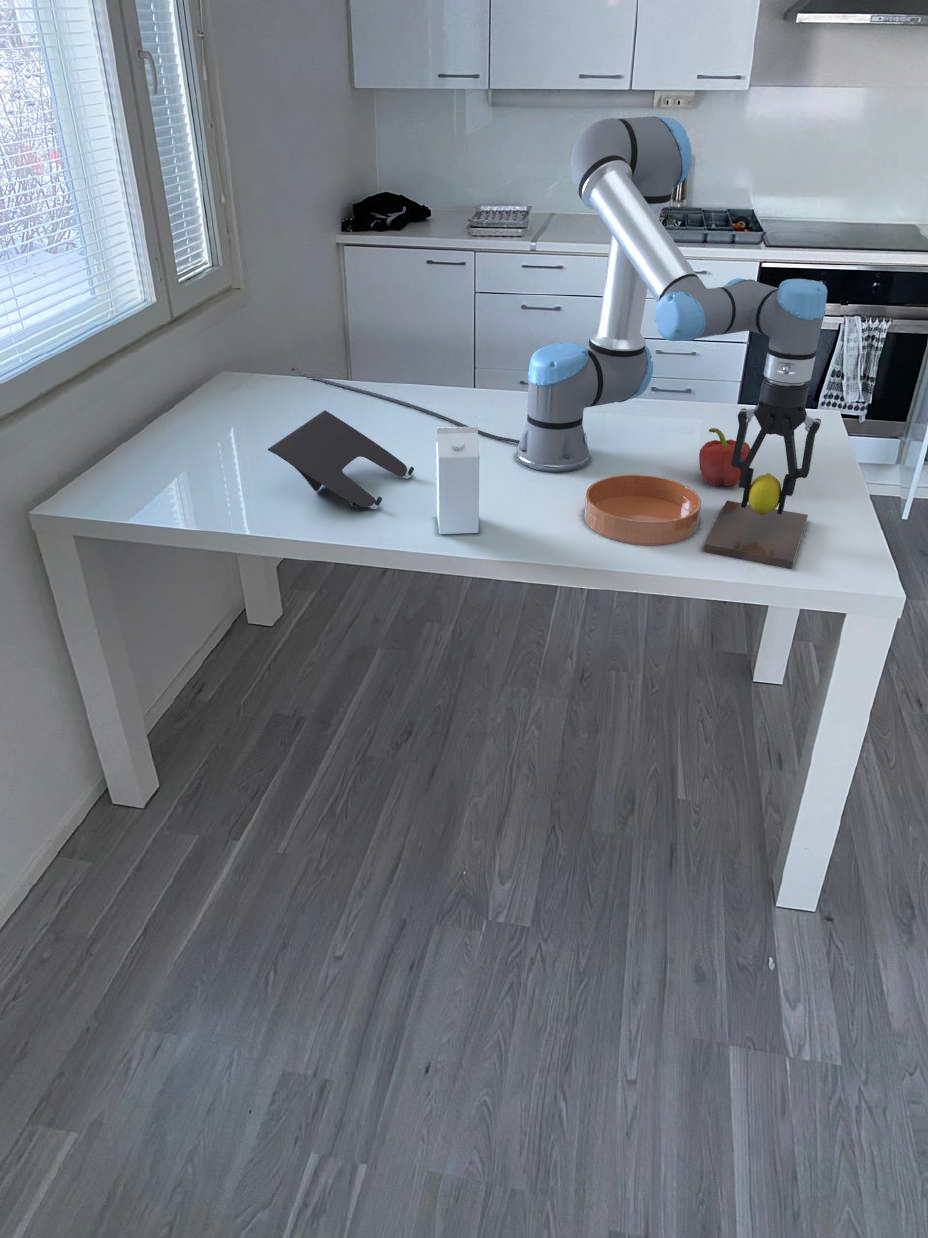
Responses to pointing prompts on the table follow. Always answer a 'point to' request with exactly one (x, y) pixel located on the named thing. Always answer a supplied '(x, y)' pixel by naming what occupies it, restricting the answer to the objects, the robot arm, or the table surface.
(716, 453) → the vegetable
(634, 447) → the table surface
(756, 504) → the lemon
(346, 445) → the laptop tray
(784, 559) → the board
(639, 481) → the basin
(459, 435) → the milk carton
